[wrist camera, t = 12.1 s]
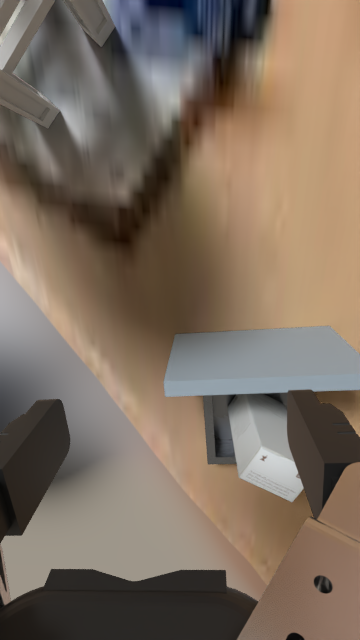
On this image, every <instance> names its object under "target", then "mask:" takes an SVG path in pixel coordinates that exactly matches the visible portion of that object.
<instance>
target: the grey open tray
mask: <svg viewBox="0 0 360 640" xmlns="http://www.w3.org/2000/svg"><path fill="white" fill-rule="evenodd" d="M263 394H265V395H267V396H269V397H271V398H273V399H275V400H277V401H279V402H281V403H283V404H284V405H285V408H286V410H287V394H288V392H284V393H263ZM235 396H236V394H228V395H203V402H204V417H205V431H206V445H207V460H208V464H237V462H236V457H235V451H234V444H233V438H232V432H231V426H230V420H229V414H228V406H229V405H230V403H231V402H232V400H233V399H234V397H235Z"/></svg>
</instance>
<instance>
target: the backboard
mask: <svg viewBox="0 0 360 640" xmlns="http://www.w3.org/2000/svg"><path fill="white" fill-rule="evenodd" d="M306 389H311V390H312V391H341V390H360V354H359V353H358V352H357V351H356V350H355V349H354V348H352V347H351V346H350V345H349V344H348V343H347V342H346V341H345V340H344V339H343V338H342V337H341V336H340V335H339V334H338V333H337V332H336V331H335V330H333V329H332V328H331V327H330V326H317V327H298V328H279V329H260V330H241V331H222V332H203V333H184V334H175V337H174V341H173V345H172V349H171V353H170V357H169V362H168V366H167V370H166V374H165V378H164V390H165V397H172V396H200V395H228V394H256V393H284V392H288V391H289V390H306Z"/></svg>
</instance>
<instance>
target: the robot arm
mask: <svg viewBox="0 0 360 640" xmlns="http://www.w3.org/2000/svg"><path fill="white" fill-rule="evenodd" d="M287 437H288V443H289V448H290V451H291V454H292V456H293V459H294V462H295V465H296V468H297V470H298V473H299V476H300V479H301V482H302V485H303V487H304V490H305V493H306V496H307V499H308V502H309V504H310V507H311V510H312V513H313V516H314V518H313V517H308V518H307V519H306V521H305V522H304V524H303V525H302V527H301V529H300V531H299V532H298V534H297V536H296V538H295V539H294V541H293V543H292V545H291V546H290V548H289V550H288V551H287V553H286V555H285V557H284V558H283V560H282V562H281V564H280V565H279V567H278V569H277V571H276V572H275V574H274V576H273V577H272V579H271V581H270V583H269V584H268V586H267V588H266V590H265V591H264V593H263V595H262V597H261V599H260V600H259V602H258V601H256V600H255V599H253V598H252V597H250V596H248V595H247V594H245V593H242V592H240V591H238V590H236V589H232V588H229V587H227V586H226V571H225V570H179V571H175V572H172V573H168V574H164V575H160V576H157V577H153V578H148V579H145V580H141V581H128V580H125V579H122V578H119V577H116V576H112V575H109V574H106V573H102V572H99V571H96V570H93V569H92V570H91V569H90V570H89V569H87V570H86V569H51V571H50V573H49V576H48V578H47V581H46V583H45V585H44V587H40V588H38V589H35V590H32V591H30V592H28V593H25V594H23V595H21V596H19V597H17V598H16V599H14V600H13V601H11V598H10V592H9V586H8V581H7V574H6V568H5V562H4V556H3V551H2V547H1V544H0V640H360V437H359V436H358V435H357V434H356V433H355V430H354V429H353V427H352V426H351V425H350V423H349V421H348V420H347V418H346V417H345V415H344V414H343V412H341V411H340V410H338V409H337V408H336V407H334V406H333V405H331V404H320V402H319V401H318V399H317V397H316V396H315V394H314V392H313V391H312V390H311V389H306V390H289V391H288V394H287ZM69 446H70V434H69V430H68V425H67V421H66V416H65V411H64V407H63V403H62V401H61V400H60V399H49V400H38V401H36V402H35V404H34V405H33V406H32V407H31V408H30V409H29V410H28V412H27V413H26V414H23V415H21V416H20V417H18V418H17V419H15V420H14V421H12V422H11V423H9V424H8V426H7V427H6V428H5V429H4V430H3V431H2V432H1V435H0V543H1V541H2V540H3V538H4V536H6V535H7V536H8V535H9V536H11V535H12V536H14V535H22V534H23V532H24V531H25V529H26V527H27V525H28V523H29V522H30V520H31V518H32V516H33V514H34V513H35V511H36V509H37V507H38V506H39V504H40V502H41V500H42V498H43V496H44V495H45V493H46V491H47V489H48V487H49V486H50V484H51V482H52V481H53V479H54V477H55V475H56V473H57V472H58V470H59V468H60V466H61V464H62V462H63V461H64V459H65V457H66V455H67V453H68V451H69Z"/></svg>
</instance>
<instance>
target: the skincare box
mask: <svg viewBox="0 0 360 640" xmlns="http://www.w3.org/2000/svg"><path fill="white" fill-rule="evenodd" d="M228 414H229V420H230V426H231V432H232V438H233V444H234V451H235V457H236V462H237V469H238V475H239V478H241V479H243V480H245V481H247V482H249V483H252V484H254V485H256V486H258V487H260V488H262V489H265V490H267V491H269V492H271V493H273V494H275V495H277V496H280V497H282V498H284V499H286V500H288V501H290V502H293V501H294V500H295V498H296V497H297V496H298V495H299V494H300V492H301V491H302V490H303V488H304V487H303V485H302V482H301V479H300V476H299V473H298V470H297V468H296V465H295V462H294V459H293V456H292V454H291V451H290V448H289V443H288V437H287V410H286V408H285V405H284V404H283V403H281V402H279V401H277V400H275V399H273V398H271V397H269V396H267V395H265V394H263V393H256V394H236V396H235V397H234V399H233V400H232V402H231V403H230V405H229V406H228Z"/></svg>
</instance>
